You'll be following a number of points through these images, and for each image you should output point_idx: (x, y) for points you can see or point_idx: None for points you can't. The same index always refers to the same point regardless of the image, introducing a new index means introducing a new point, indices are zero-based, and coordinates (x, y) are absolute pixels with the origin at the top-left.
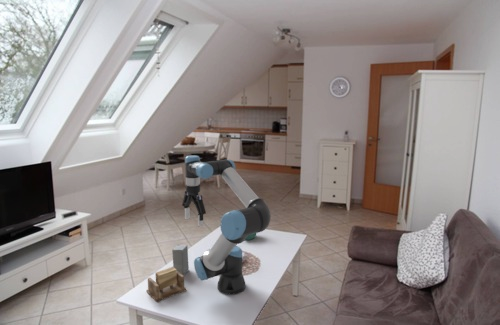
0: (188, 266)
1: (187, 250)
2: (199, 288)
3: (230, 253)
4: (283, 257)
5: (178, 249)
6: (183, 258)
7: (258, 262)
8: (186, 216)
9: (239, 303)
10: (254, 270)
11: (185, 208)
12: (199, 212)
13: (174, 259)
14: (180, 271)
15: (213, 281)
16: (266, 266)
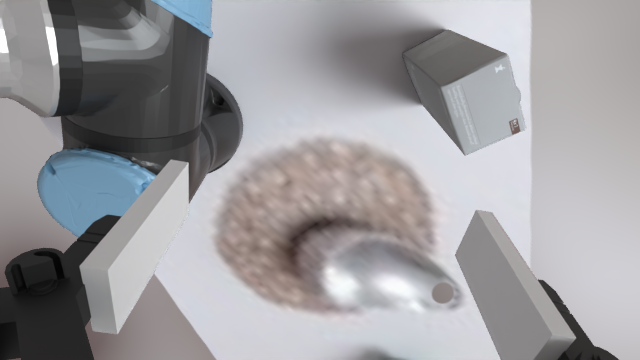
0: (427, 110)
1: (453, 140)
2: (270, 28)
3: (47, 163)
4: (222, 341)
5: (469, 80)
6: (426, 81)
7: (254, 286)
8: (485, 245)
9: None
10: (223, 245)
11: (552, 337)
12: (14, 310)
13: (469, 46)
14: (420, 49)
15: (271, 106)
16: (216, 281)
